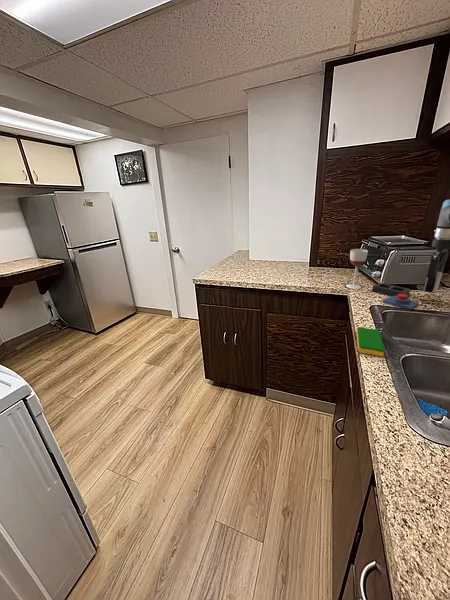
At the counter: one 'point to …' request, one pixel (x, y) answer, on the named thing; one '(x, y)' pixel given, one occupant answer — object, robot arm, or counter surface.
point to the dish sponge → (369, 341)
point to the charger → (435, 282)
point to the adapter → (390, 289)
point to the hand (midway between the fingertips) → (430, 290)
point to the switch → (402, 296)
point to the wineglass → (357, 263)
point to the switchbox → (401, 302)
